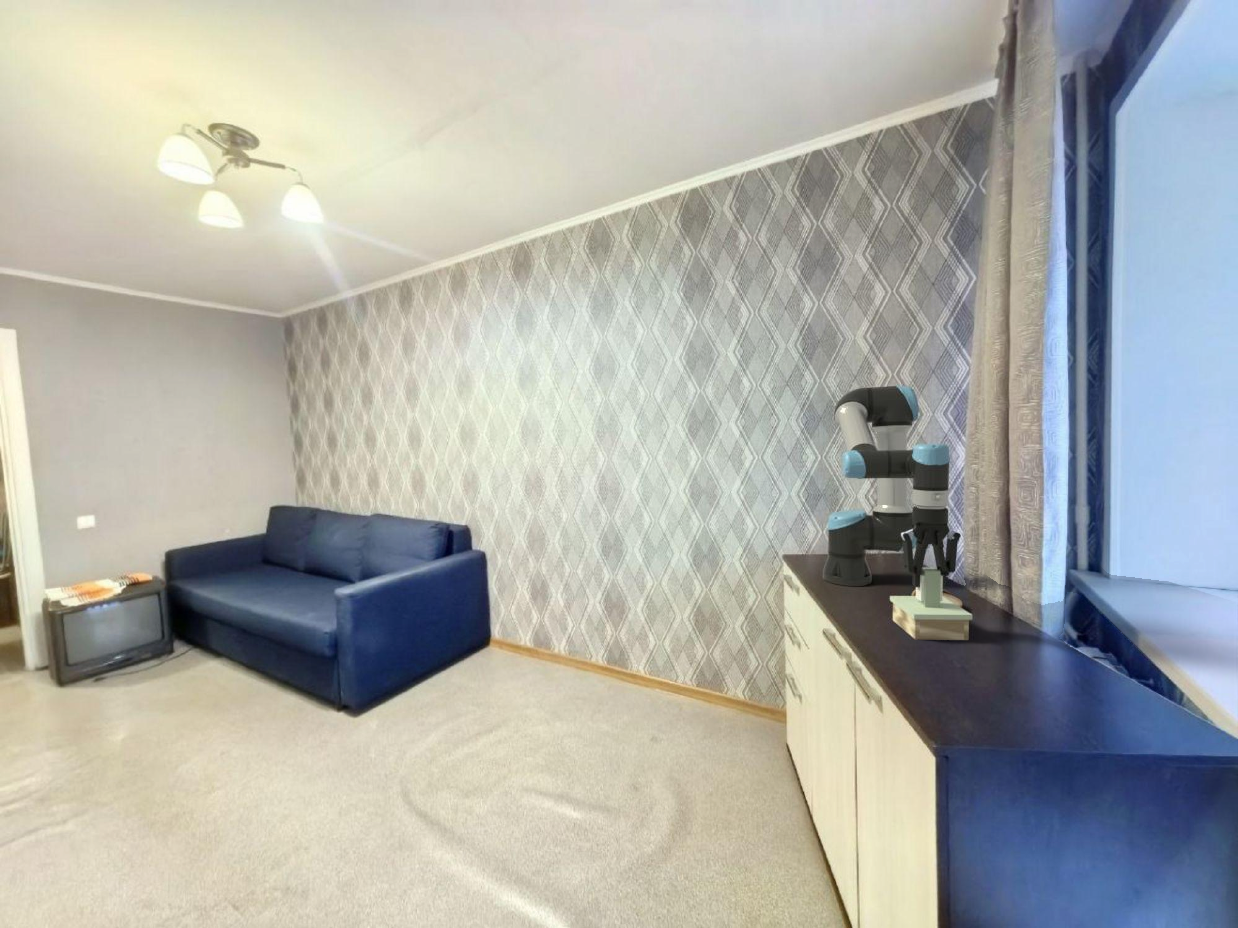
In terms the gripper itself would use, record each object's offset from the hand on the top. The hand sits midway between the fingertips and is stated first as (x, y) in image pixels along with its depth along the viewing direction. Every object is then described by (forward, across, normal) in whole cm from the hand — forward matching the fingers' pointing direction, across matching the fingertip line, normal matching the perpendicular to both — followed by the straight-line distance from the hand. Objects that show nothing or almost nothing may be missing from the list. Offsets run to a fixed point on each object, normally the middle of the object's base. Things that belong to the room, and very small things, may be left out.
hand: (928, 599), depth 124 cm
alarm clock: (+9, +10, +18) cm, 22 cm away
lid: (+3, 0, 0) cm, 3 cm away
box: (+9, 0, 0) cm, 9 cm away
